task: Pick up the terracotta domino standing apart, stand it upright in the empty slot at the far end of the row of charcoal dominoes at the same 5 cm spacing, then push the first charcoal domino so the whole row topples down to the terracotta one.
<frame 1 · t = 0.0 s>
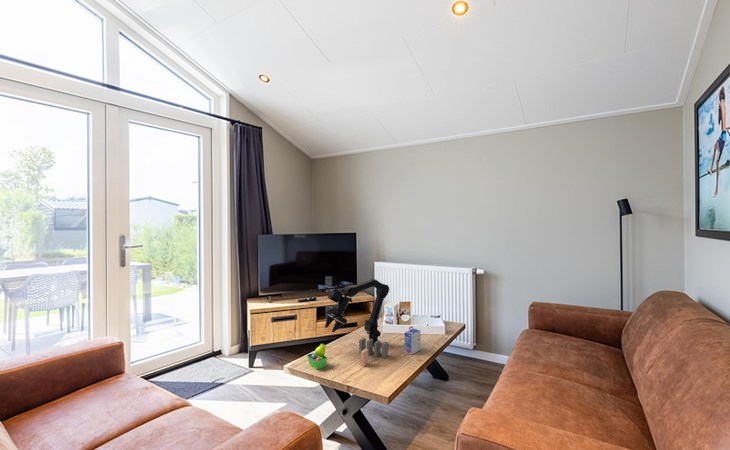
hand: (329, 329, 200), 15 cm above the table, tool tilted 35°, fingers open, 9 cm apart
domino 1: (362, 352, 204), on the table
domino 4: (384, 356, 197), on the table
ink cartridge box: (412, 351, 206), on the table
fruit basket: (318, 365, 186), on the table
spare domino: (364, 364, 186), on the table
domino 2: (369, 353, 202), on the table
domino 3: (377, 355, 200), on the table
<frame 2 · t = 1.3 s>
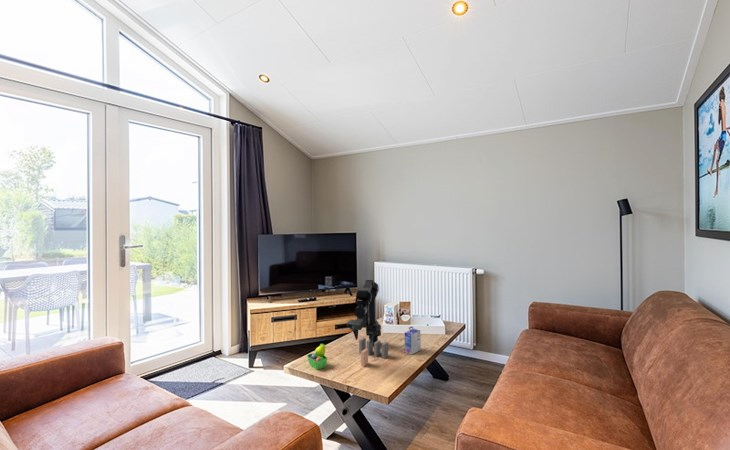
hand: (363, 341, 186), 13 cm above the table, tool pointing down, fingers open, 9 cm apart
nothing on the table moved.
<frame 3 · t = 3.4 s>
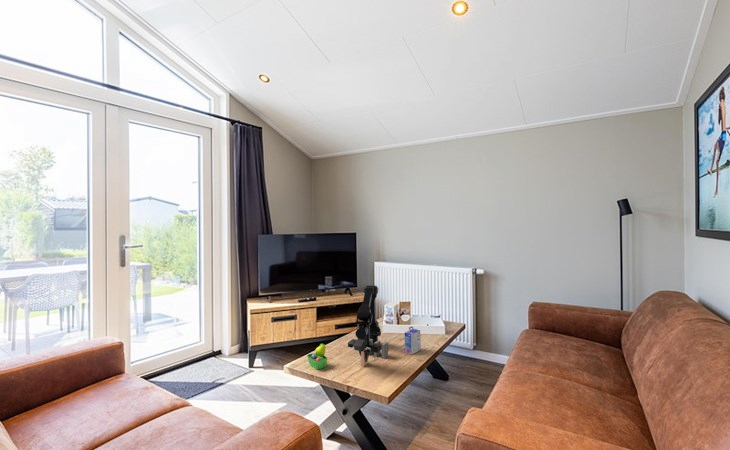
hand: (364, 361, 186), 2 cm above the table, tool pointing down, fingers closed on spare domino, 2 cm apart
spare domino: (364, 364, 186), on the table, touching gripper
everything else where it was.
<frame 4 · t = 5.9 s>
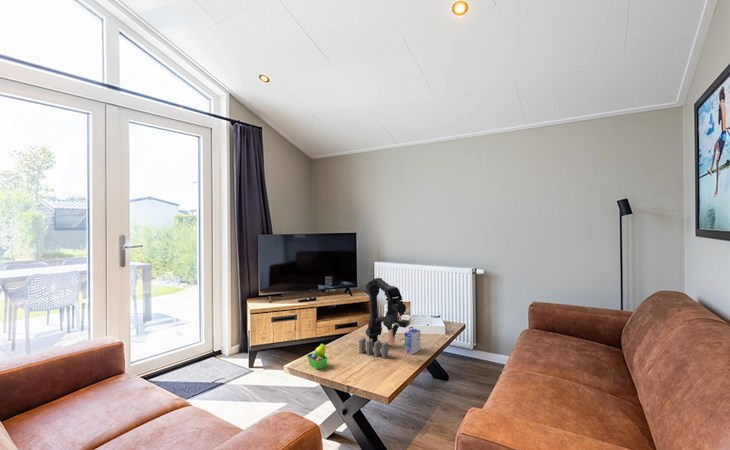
hand: (392, 336, 194), 13 cm above the table, tool pointing down, fingers closed on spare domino
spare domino: (391, 343, 194), point 9 cm above the table, touching gripper
everything else where it was.
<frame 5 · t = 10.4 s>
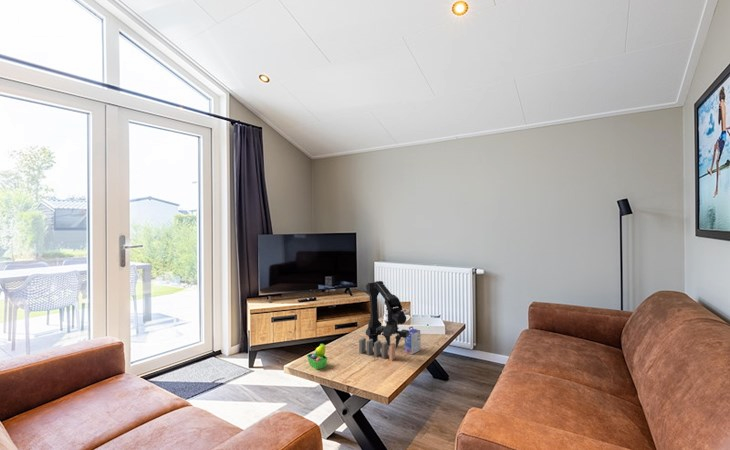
hand: (392, 346, 194), 7 cm above the table, tool pointing down, fingers open, 4 cm apart
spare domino: (392, 358, 194), on the table
everything else where it was.
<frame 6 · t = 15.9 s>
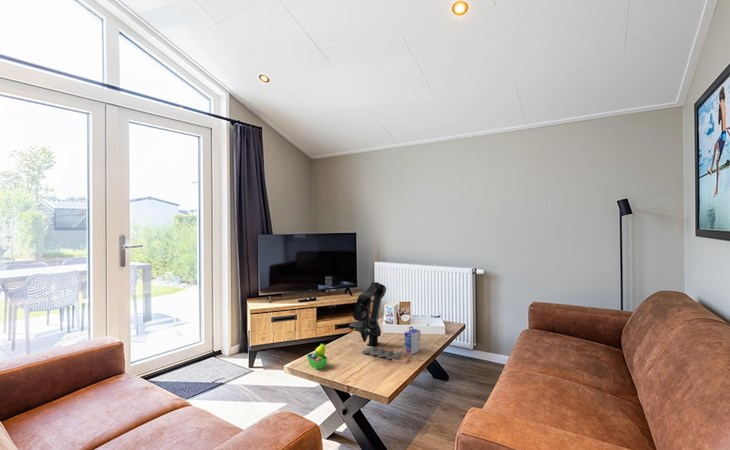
hand: (364, 341, 204), 6 cm above the table, tool pointing down, fingers closed
domino 1: (364, 351, 204), point 1 cm above the table, tilted 72°, touching domino 2
domino 4: (387, 356, 196), point 1 cm above the table, tilted 75°, touching domino 3, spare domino
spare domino: (393, 358, 194), on the table, tilted 90°, touching domino 4
domino 2: (371, 352, 201), point 1 cm above the table, tilted 72°, touching domino 1, domino 3
domino 3: (379, 354, 199), point 1 cm above the table, tilted 73°, touching domino 2, domino 4
everything else where it was.
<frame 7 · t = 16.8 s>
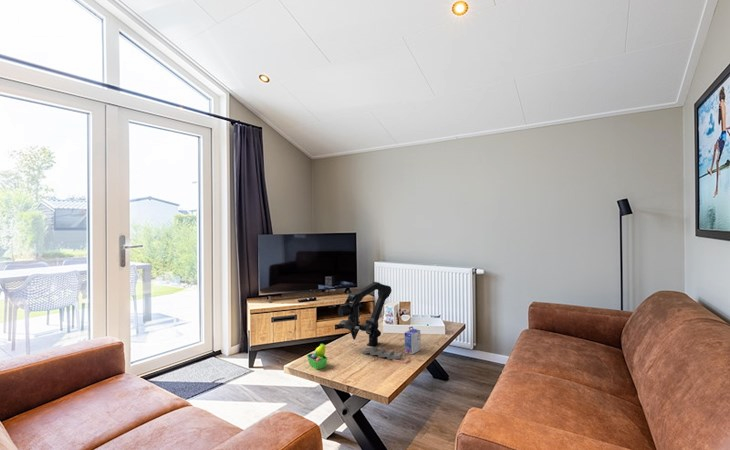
hand: (354, 339, 207), 7 cm above the table, tool pointing down, fingers closed
domino 1: (364, 351, 204), point 1 cm above the table, tilted 72°
domino 2: (372, 352, 201), point 1 cm above the table, tilted 73°
domino 3: (380, 354, 198), point 1 cm above the table, tilted 74°, touching domino 4
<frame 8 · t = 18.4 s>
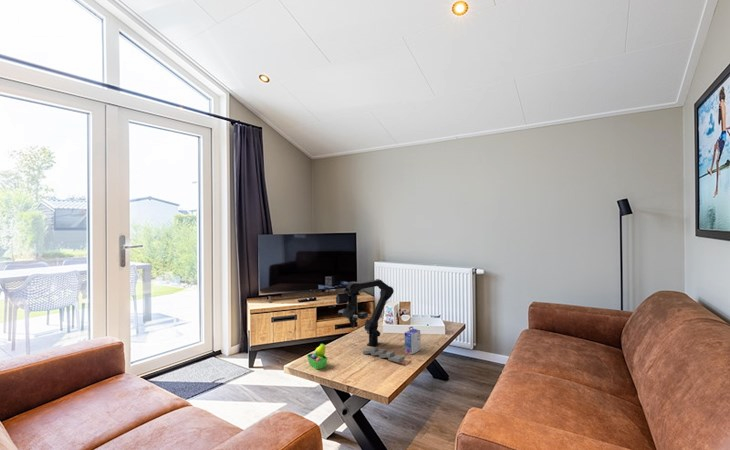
hand: (352, 327, 210), 13 cm above the table, tool pointing down, fingers closed
domino 1: (364, 351, 204), point 1 cm above the table, tilted 73°, touching domino 2
domino 4: (391, 357, 193), point 1 cm above the table, tilted 80°
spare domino: (395, 359, 193), on the table, tilted 90°
domino 2: (373, 353, 201), point 1 cm above the table, tilted 73°, touching domino 1, domino 3
domino 3: (381, 355, 198), point 1 cm above the table, tilted 72°, touching domino 2
everything else where it was.
at the end: domino 1 tilted 73°; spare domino tilted 90°; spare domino inside the target area (1.6 cm from its centre), on the table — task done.
